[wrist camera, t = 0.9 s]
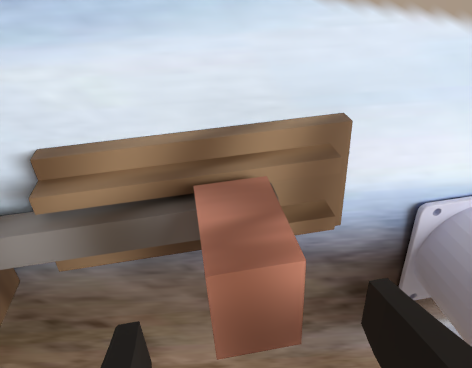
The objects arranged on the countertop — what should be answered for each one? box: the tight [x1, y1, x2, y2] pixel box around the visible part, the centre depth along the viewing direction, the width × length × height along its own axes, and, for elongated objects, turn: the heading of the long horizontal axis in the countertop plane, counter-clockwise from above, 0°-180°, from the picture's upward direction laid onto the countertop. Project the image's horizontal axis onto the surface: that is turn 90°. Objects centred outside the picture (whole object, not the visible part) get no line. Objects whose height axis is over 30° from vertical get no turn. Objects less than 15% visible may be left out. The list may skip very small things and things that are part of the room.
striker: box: [0, 176, 306, 360], centre depth 15 cm, size 15×8×8 cm, turn 93°
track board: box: [29, 113, 353, 272], centre depth 18 cm, size 14×6×2 cm, turn 93°
